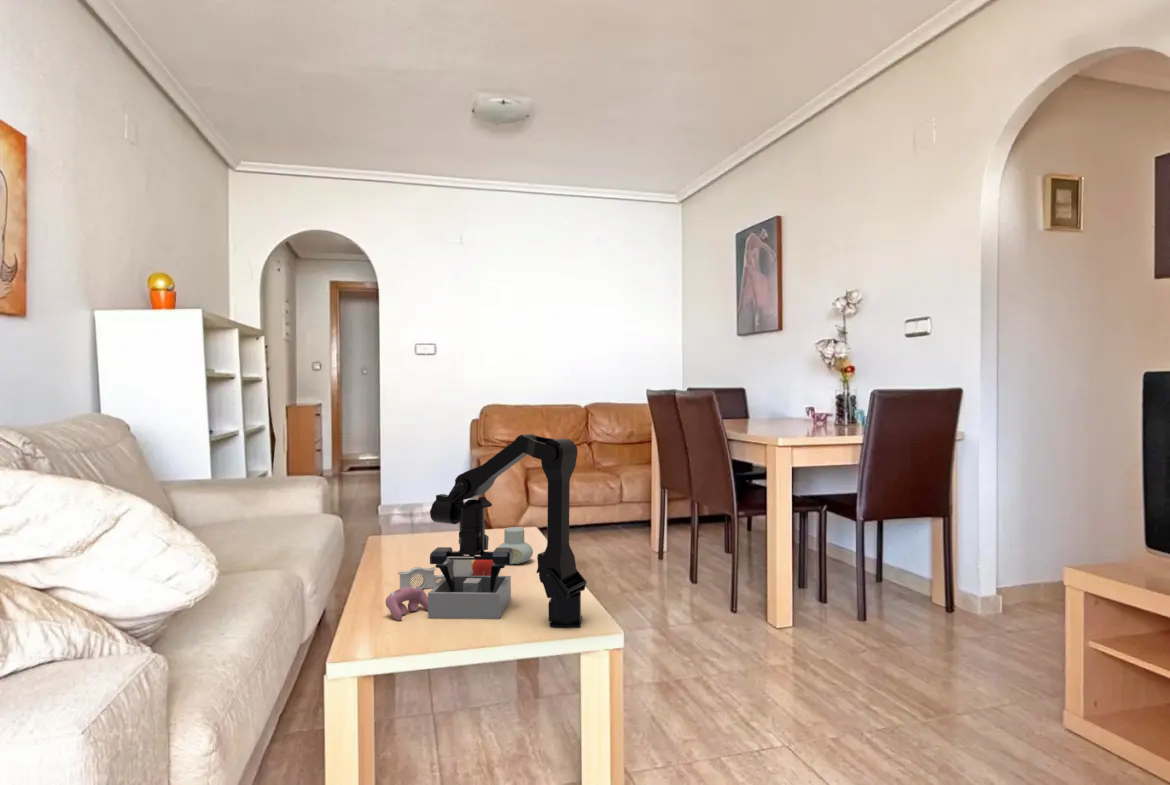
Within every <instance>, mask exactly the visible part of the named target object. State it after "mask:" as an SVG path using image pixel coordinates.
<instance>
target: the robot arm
mask: <svg viewBox="0 0 1170 785" xmlns="http://www.w3.org/2000/svg"><path fill="white" fill-rule="evenodd" d="M578 452H579V451H578V446H577V444H575V443H574V441H573V440H571V439H570V438H565V437H564V438H557V439H556V438H551V437H549V438H548V437H544V436H540V435H539V436H538V435H536V434H533V433H528V434H520V435H518V436H517V437H516V438H515V440H513V441H512V442H511V443H509V444H508V445H506V446H505V447H504V448H502V449H501V450H500V451H499V452H497V453H495V455H493V456H492V457H491V458H489V459H488V460H487V461H485V462H484V463H482V464H481V465H479V466H476V467H474V468H471V469H469V470H467V471H464V472H463V473H459V475H457V476H456V478H455V480H454V486H453V487H452V489H451V490H450V492H449V493H448V494H445V493H441V494H440V493H439V494H436V495H435V500H434V501H433V503H432V504H431V508H430V510H429V514H430V516H429V517H430V519H431V520H432V521H433V523H439V524H449V525H458V524H459V532H458V545H459V549H458V551H457V550H455V551H453V548H452V546H451V547H446V546H443V547H442V546H441V547H440V546H439V547H436V548H435V549H434V550H432V551H431V552H430V554H429V564H430V565H435V569H439V570H440V572H441V573H442V574H443V575H444V577H445V579H446V581H447V583H448V585H449V588H450V590H451V592H454V588H455V584H454V576H455V575H454V564H455V563H454V562H455V560H456V561H457V560H462V561H466V560H467V561H468V560H470V561H471V560H493V562H494V564H493V565H492V566H491V581H490V592H491V593H493V590H494V587H495V584H496V581H497V577H498V576H499V574H500V572H501V570H502V569H504V568H506V566H507V565H509V564H510V563H511V562H512V560H513V550H512V549H511V548H498V547H496V548H495V549H494V550H493V551H488V550H489V538H490V537H489V536H488V535H487V534H486V530H485V529H486V528H485V509H487V508H490V507H492V506H493V504H492V502H491V501H489V500H488V498H487V497H486V496H482V495H485V493H487V492H488V491H489V490H490V488H492V486H493V485H494V483H495V481H496V479H497V478H498V477H499V476H501V475H502V474H504V473H505V472H506V471H507V470H508V469H510V468H511V467H512V466H514V465H516V464H517V463H518V462H520V461H521V460H523V459H524V458H525V457H527V456H530V457H531V458H533V459H534V458H535V459H538V460H540V461H541V462H540V463H541V469H542V471H543V474H544V475H545V477H546V480H547V524H546V526H547V527H546V528H547V529H546V530H547V533H546V534H547V539H546V542H547V543H546V548H545V550H544V551H542V552H540V553H537V558H536V560H537V568H536V572H535V573H536V574H538V578H539V582H540V583H542V585H543V589H544V592H545V594H546V597H547V598H548V599H549V600H548V604H547V608H548V610H547V611H548V622H549V626H550V627H551V628H562V627H563V628H580V627H581V625H582V620H583V615H582V592H584V591H585V589H586V587H587V580H586V579H585V578H584V576H583V575H582V574H581V573H580V572H579V570H578V569H577V565H576V556H575V554H574V552H573V550H572V547H571V546H570V494H571V493H570V490H571V489H570V488H571V486H570V482H571V478H572V476H573V473H574V470H575V469H576V464H577V459H578V458H577V457H578ZM478 496H482V497H479V498H478V499H475V497H478ZM465 500H466V501H465ZM464 501H465V502H464ZM486 550H487V551H486Z"/></svg>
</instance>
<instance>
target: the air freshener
mask: <svg viewBox="0 0 1170 785" xmlns="http://www.w3.org/2000/svg"><path fill="white" fill-rule="evenodd" d="M503 534H504V539H503V540H504V542H503V543H501V544H499V545H498V547H497V548H511V549H512V550H513V560H512V562H511V563H510V564H517V565H520V563H521V564H524V563H526V562H527V561H529V560H530V559H531V558H532V556H533V553H534V549H533V547H532V546H531V545H530V544H529V543H528V542H525V529H524V528H523V527H520V526H511V527H506V528H505V529H504V533H503Z"/></svg>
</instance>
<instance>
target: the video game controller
mask: <svg viewBox="0 0 1170 785" xmlns="http://www.w3.org/2000/svg"><path fill="white" fill-rule="evenodd" d="M416 586H417V585H416ZM418 586H419V585H418ZM418 586H417V587H415V586H414V587H413V586H412V587H405V588H401V589H400V588H399V589H397V590H395V591H394V592H391V593H390V594H389V595H388V596H387V597H386V598H385V606H386V608H388V611H389V613H390V614H391V616H392V617H393V618H394V619H395V620H396V621H398V622H401V621H402V618H403V615H405V614H407V611H409V612H410V613H414V612H416V611H417V610H418V609H419V605H421V606H422V607H423V608H424V609H425V610H426V611H428V594H426V592H425V591H424V589H420V588H419V587H420V586H419V587H418ZM407 601H408V603H407V605H406V604H404V602H407Z"/></svg>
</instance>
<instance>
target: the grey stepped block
mask: <svg viewBox="0 0 1170 785" xmlns="http://www.w3.org/2000/svg"><path fill="white" fill-rule="evenodd" d="M463 592H477V593H482V578H467V579H466V580H465V581H464V582H463Z"/></svg>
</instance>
